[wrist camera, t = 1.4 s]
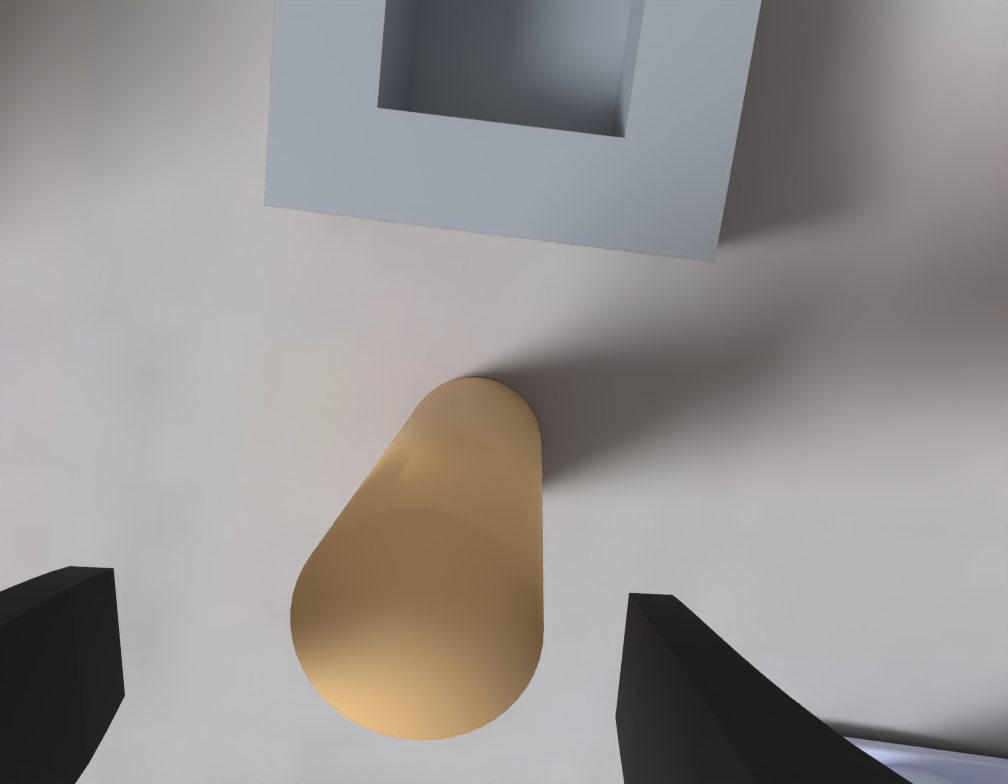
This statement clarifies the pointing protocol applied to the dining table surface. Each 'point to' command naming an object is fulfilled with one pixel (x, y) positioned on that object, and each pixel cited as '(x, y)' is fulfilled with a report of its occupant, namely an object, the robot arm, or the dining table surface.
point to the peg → (433, 572)
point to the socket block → (513, 116)
